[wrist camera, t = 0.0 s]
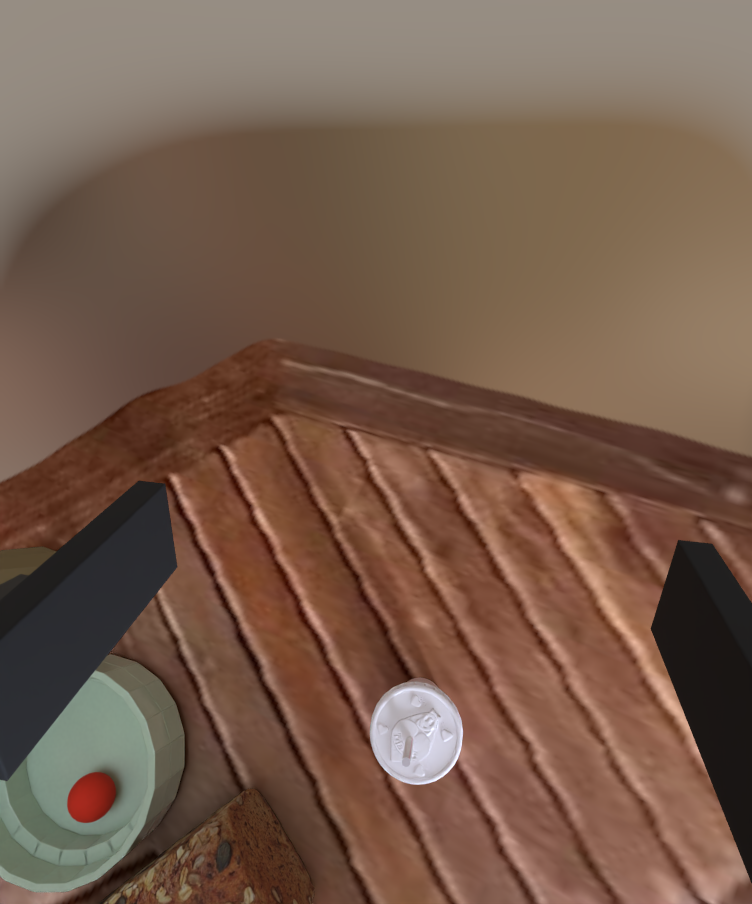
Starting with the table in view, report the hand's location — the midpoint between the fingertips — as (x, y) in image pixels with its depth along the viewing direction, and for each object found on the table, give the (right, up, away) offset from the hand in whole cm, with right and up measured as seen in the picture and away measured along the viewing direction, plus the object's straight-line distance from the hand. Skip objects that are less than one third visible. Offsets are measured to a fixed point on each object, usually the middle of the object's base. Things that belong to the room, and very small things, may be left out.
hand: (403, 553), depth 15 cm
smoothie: (+3, -18, +33) cm, 38 cm away
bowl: (-25, -24, +35) cm, 49 cm away
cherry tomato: (-24, -26, +32) cm, 48 cm away
